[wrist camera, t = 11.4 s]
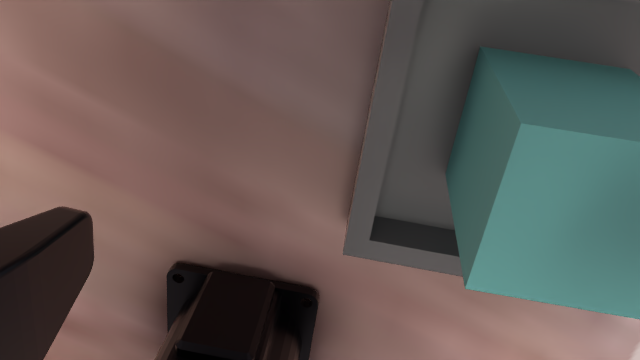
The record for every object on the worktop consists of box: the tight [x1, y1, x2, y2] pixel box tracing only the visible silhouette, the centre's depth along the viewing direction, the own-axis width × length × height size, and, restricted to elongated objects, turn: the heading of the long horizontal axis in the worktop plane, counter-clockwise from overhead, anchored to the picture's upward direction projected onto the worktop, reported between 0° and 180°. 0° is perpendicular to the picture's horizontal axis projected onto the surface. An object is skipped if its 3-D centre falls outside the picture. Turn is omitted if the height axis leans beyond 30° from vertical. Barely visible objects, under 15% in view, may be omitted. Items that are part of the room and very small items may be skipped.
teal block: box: [445, 46, 640, 319], centre depth 14 cm, size 4×4×6 cm
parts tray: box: [343, 0, 640, 277], centre depth 17 cm, size 10×10×2 cm
